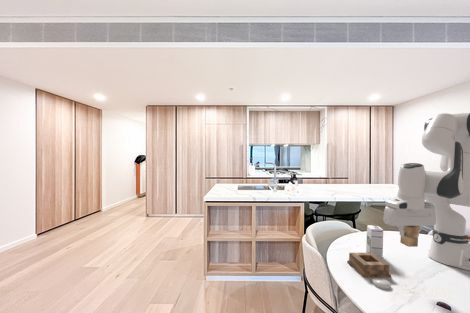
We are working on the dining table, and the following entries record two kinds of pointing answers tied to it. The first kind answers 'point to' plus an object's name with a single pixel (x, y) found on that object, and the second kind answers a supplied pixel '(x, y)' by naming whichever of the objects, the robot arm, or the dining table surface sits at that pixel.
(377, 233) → the syrup box
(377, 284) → the grey flat pebble
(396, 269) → the dining table surface
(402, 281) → the dining table surface
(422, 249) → the dining table surface
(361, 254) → the socket block
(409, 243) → the oak peg
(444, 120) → the robot arm
